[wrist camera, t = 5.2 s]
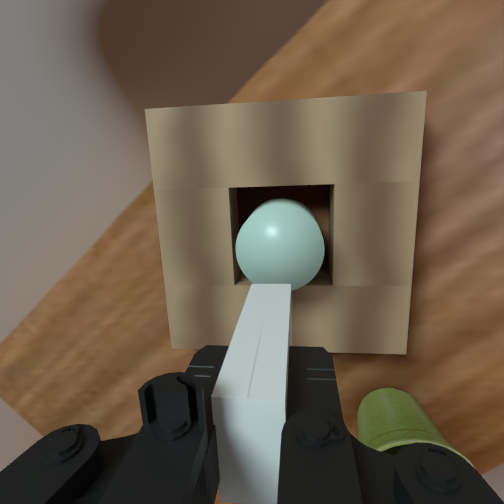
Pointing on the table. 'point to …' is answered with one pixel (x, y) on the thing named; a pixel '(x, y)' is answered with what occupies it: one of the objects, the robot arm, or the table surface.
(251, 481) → the robot arm
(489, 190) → the table surface
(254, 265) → the pale mint egg
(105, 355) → the table surface
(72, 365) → the table surface
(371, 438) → the plant pot
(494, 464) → the table surface
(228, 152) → the dock
